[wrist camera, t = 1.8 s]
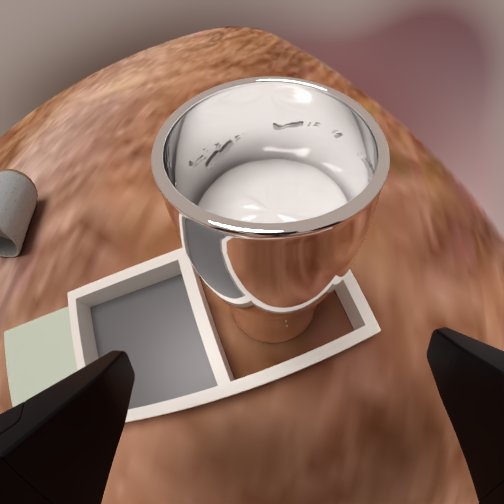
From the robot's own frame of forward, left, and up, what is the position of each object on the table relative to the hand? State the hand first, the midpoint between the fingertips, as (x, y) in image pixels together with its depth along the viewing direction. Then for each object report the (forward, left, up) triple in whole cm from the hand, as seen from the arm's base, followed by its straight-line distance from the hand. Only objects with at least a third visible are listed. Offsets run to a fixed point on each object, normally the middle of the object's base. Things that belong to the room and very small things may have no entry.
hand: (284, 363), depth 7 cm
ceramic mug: (-8, +33, -12) cm, 36 cm away
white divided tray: (-5, +9, -12) cm, 16 cm away
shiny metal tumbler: (+4, +3, -12) cm, 13 cm away
